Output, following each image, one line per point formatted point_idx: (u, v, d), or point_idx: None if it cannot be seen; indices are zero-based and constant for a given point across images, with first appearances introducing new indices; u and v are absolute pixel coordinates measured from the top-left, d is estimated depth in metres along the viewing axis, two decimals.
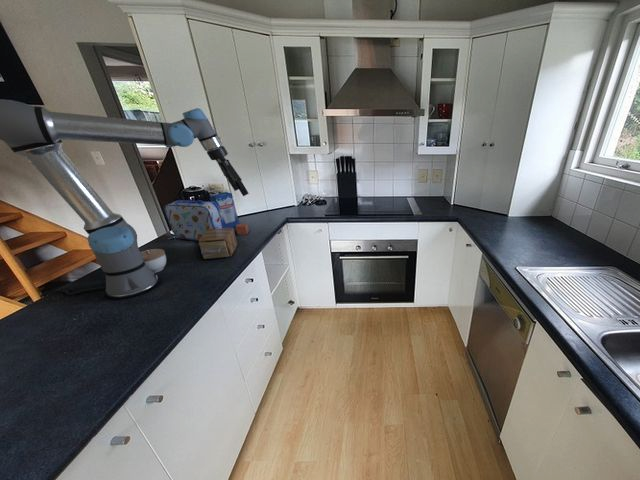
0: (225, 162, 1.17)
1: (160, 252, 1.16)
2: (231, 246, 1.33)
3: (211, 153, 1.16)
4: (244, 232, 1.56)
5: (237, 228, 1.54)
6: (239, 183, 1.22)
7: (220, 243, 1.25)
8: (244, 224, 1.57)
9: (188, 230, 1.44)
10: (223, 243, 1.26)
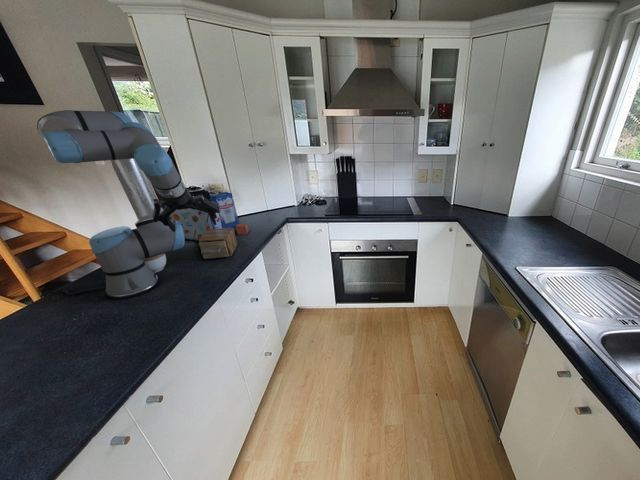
0: (154, 202, 0.88)
1: None
2: (231, 246, 1.33)
3: None
4: (244, 232, 1.56)
5: (237, 228, 1.54)
6: None
7: (220, 243, 1.25)
8: (244, 224, 1.57)
9: (188, 230, 1.44)
10: (223, 243, 1.26)
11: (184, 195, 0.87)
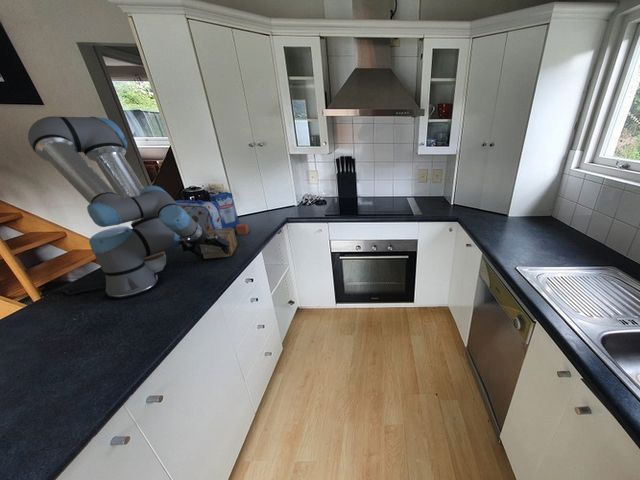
0: None
1: (160, 252, 1.16)
2: (231, 246, 1.33)
3: None
4: (244, 232, 1.56)
5: (237, 228, 1.54)
6: None
7: None
8: (244, 224, 1.57)
9: None
10: None
11: (200, 237, 1.05)
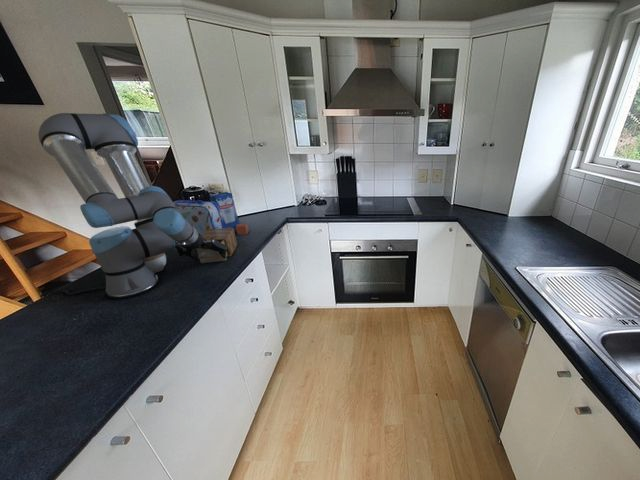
0: None
1: None
2: (231, 246, 1.33)
3: None
4: (244, 232, 1.56)
5: (237, 228, 1.54)
6: None
7: None
8: (244, 224, 1.57)
9: None
10: None
11: (197, 242, 1.02)
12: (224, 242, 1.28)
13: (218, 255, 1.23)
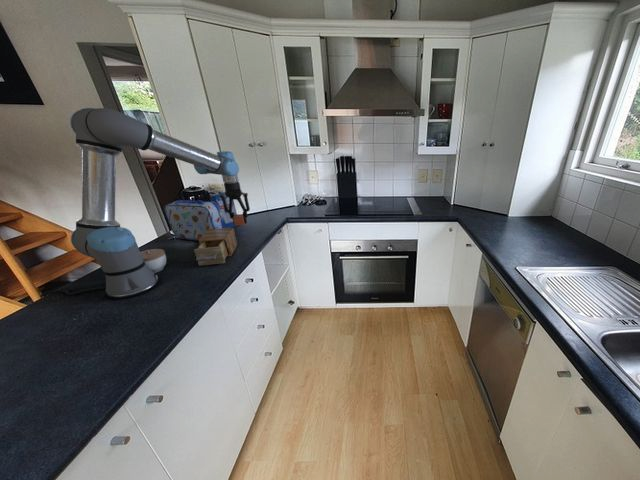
0: None
1: (160, 252, 1.16)
2: (231, 246, 1.33)
3: None
4: (241, 223, 1.54)
5: (234, 219, 1.52)
6: None
7: (216, 249, 1.19)
8: (241, 215, 1.54)
9: (188, 230, 1.44)
10: (219, 249, 1.20)
11: (236, 183, 1.45)
12: (223, 244, 1.25)
13: (217, 257, 1.21)
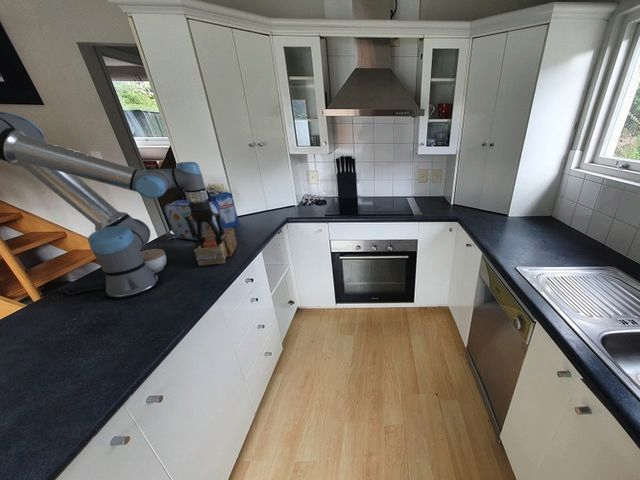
0: None
1: (160, 252, 1.16)
2: (231, 246, 1.33)
3: None
4: None
5: (205, 245, 1.21)
6: None
7: (216, 249, 1.19)
8: (214, 240, 1.23)
9: (188, 230, 1.44)
10: (219, 249, 1.20)
11: (204, 203, 1.14)
12: (223, 244, 1.25)
13: (217, 257, 1.21)
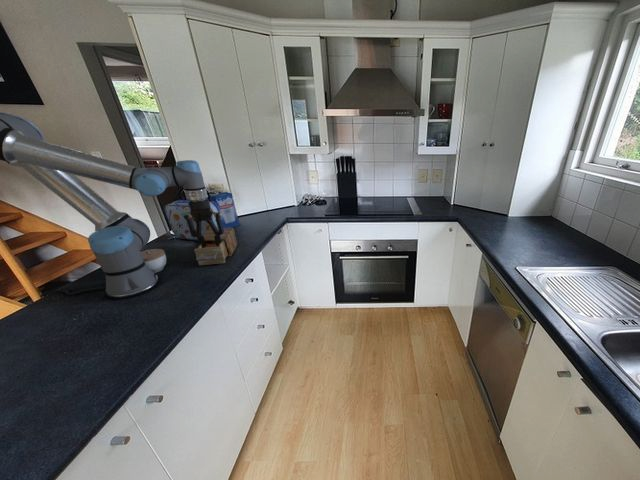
0: None
1: (160, 252, 1.16)
2: (231, 246, 1.33)
3: None
4: None
5: None
6: None
7: (216, 249, 1.20)
8: (215, 245, 1.24)
9: (188, 230, 1.44)
10: (219, 249, 1.20)
11: (204, 201, 1.13)
12: (223, 244, 1.26)
13: (217, 257, 1.21)
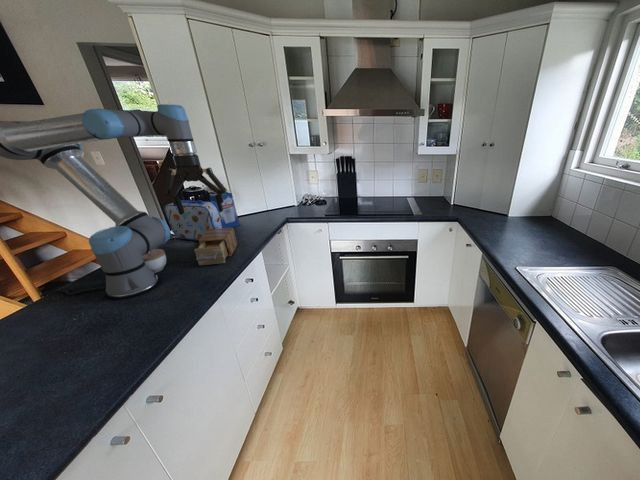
0: None
1: (160, 252, 1.16)
2: (231, 246, 1.33)
3: None
4: None
5: None
6: None
7: (216, 249, 1.20)
8: (216, 246, 1.25)
9: (188, 230, 1.44)
10: (219, 249, 1.20)
11: (192, 156, 0.95)
12: (223, 244, 1.26)
13: (217, 257, 1.21)
